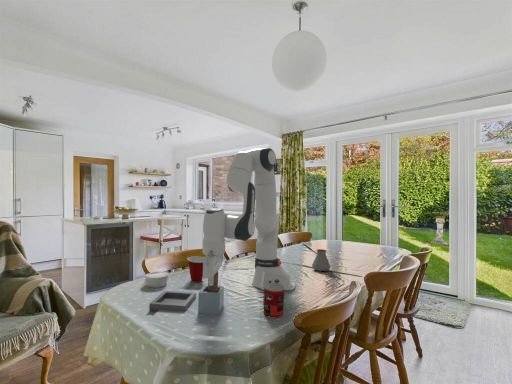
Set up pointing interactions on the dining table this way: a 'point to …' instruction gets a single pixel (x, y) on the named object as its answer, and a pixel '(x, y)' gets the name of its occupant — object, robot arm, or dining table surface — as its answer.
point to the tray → (172, 301)
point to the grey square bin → (210, 300)
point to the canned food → (273, 300)
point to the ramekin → (156, 279)
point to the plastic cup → (196, 268)
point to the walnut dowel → (215, 286)
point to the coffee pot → (320, 260)
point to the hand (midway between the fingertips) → (213, 282)
